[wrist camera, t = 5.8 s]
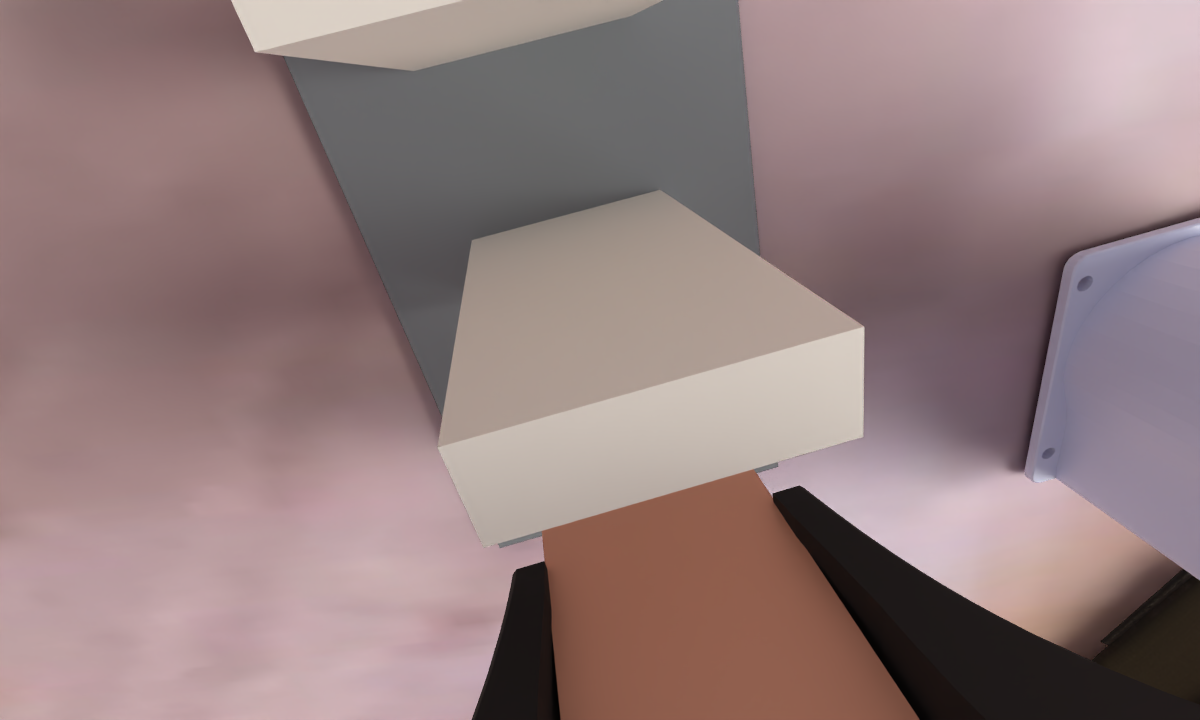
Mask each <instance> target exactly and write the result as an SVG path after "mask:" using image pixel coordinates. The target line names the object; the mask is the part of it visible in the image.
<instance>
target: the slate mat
mask: <svg viewBox="0 0 1200 720" xmlns="http://www.w3.org/2000/svg"><path fill="white" fill-rule="evenodd" d="M283 57H284V59H285V61H286V64H287V66H288V68H289V70H290V73H291V75H292V77H293V80H294V82H295V84H296V86H297V89H298V91H299V93H300V95H301V98H302V100H303V102H304V104H305V107H306V109H307V111H308V114H309V116H310V118H311V120H312V123H313V125H314V127H315V129H316V132H317V134H318V136H319V139H320V141H321V143H322V145H323V148H324V150H325V152H326V154H327V157H328V159H329V161H330V163H331V166H332V168H333V170H334V173H335V175H336V177H337V179H338V182H339V184H340V186H341V188H342V191H343V193H344V195H345V198H346V200H347V202H348V204H349V207H350V209H351V211H352V213H353V216H354V218H355V220H356V223H357V225H358V227H359V229H360V232H361V234H362V236H363V238H364V241H365V243H366V245H367V247H368V250H369V252H370V254H371V257H372V259H373V261H374V263H375V266H376V268H377V270H378V272H379V275H380V277H381V279H382V282H383V284H384V286H385V288H386V291H387V293H388V295H389V297H390V300H391V302H392V304H393V306H394V309H395V311H396V313H397V316H398V318H399V320H400V322H401V325H402V327H403V329H404V331H405V334H406V336H407V338H408V341H409V343H410V345H411V347H412V350H413V352H414V354H415V356H416V359H417V361H418V363H419V365H420V368H421V370H422V372H423V375H424V377H425V379H426V381H427V384H428V386H429V388H430V390H431V393H432V395H433V397H434V400H435V402H436V404H437V406H438V409H439V411H440V413H441V415H442V416H443V410H444V404H445V398H446V392H447V386H448V380H449V374H450V368H451V362H452V356H453V350H454V344H455V338H456V332H457V326H458V320H459V314H460V308H461V302H462V296H463V290H464V284H465V278H466V272H467V266H468V260H469V254H470V248H471V242H472V240H474V239H478V238H482V237H485V236H489V235H493V234H497V233H500V232H504V231H508V230H512V229H515V228H519V227H523V226H526V225H530V224H534V223H538V222H541V221H545V220H549V219H553V218H556V217H560V216H564V215H568V214H571V213H575V212H579V211H582V210H586V209H590V208H594V207H597V206H601V205H605V204H609V203H612V202H616V201H620V200H623V199H627V198H631V197H635V196H638V195H642V194H646V193H650V192H653V191H657V190H661V191H663V192H664V193H666V194H667V195H669V196H670V197H672V198H673V199H675V200H676V201H678V202H679V203H681V204H682V205H684V206H685V207H687V208H688V209H690V210H691V211H693V212H694V213H696V214H697V215H699V216H700V217H702V218H703V219H705V220H706V221H708V222H709V223H711V224H712V225H714V226H715V227H717V228H718V229H719V230H721V231H722V232H724V233H725V234H727V235H728V236H730V237H731V238H733V239H734V240H736V241H737V242H739V243H740V244H742V245H743V246H745V247H746V248H748V249H749V250H751V251H752V252H754V253H755V254H757V255H758V256H760V250H759V238H758V227H757V215H756V203H755V192H754V180H753V169H752V157H751V145H750V134H749V122H748V110H747V99H746V87H745V75H744V64H743V52H742V40H741V29H740V17H739V6H738V0H663V1H661V2H659V3H657V4H655V5H653V6H650V7H648V8H646V9H644V10H642V11H640V12H638V13H636V14H634V15H632V16H629V17H625V18H621V19H617V20H613V21H609V22H606V23H602V24H598V25H594V26H590V27H586V28H582V29H578V30H574V31H570V32H566V33H562V34H558V35H554V36H550V37H546V38H542V39H539V40H535V41H531V42H527V43H523V44H519V45H515V46H511V47H507V48H503V49H499V50H495V51H491V52H487V53H483V54H479V55H475V56H472V57H468V58H464V59H460V60H456V61H452V62H448V63H444V64H440V65H436V66H432V67H428V68H424V69H420V70H416V71H408V70H400V69H391V68H383V67H375V66H366V65H358V64H349V63H341V62H332V61H324V60H316V59H307V58H299V57H290V56H283ZM776 467H778V462H776V463H773V464H769V465H766V466H762V467H759V468H756V469H754V470H755V472H756V473H758V472H762V471H765V470H769V469H772V468H776ZM540 536H542V531H540V532H536V533H533V534H530V535H526V536H523V537H519V538H516V539H512V540H509V541H506V542H502V543H499V544H498V545H499V547H500V548H502V547H505V546H509V545H512V544H516V543H519V542H522V541H526V540H529V539H533V538H536V537H540Z"/></svg>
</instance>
